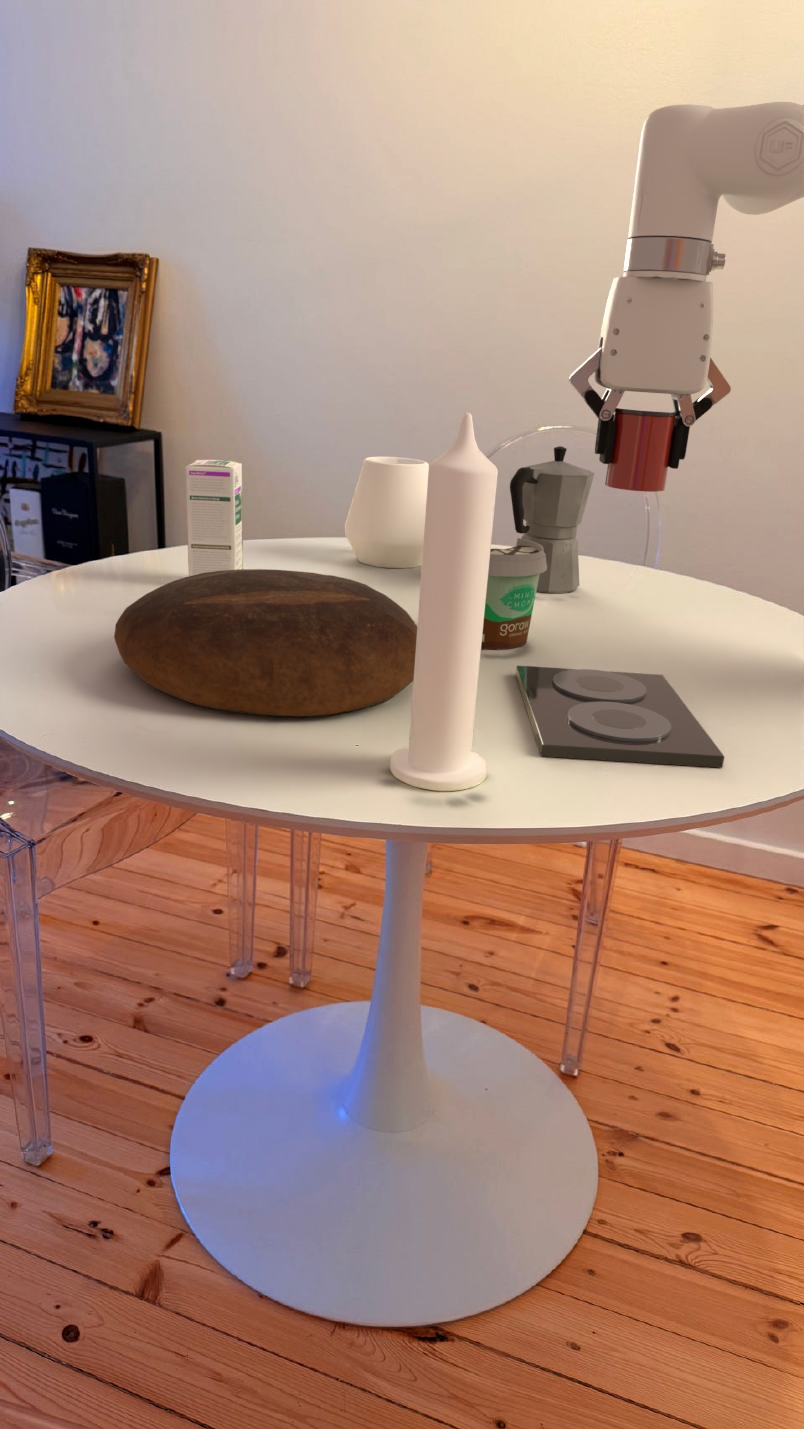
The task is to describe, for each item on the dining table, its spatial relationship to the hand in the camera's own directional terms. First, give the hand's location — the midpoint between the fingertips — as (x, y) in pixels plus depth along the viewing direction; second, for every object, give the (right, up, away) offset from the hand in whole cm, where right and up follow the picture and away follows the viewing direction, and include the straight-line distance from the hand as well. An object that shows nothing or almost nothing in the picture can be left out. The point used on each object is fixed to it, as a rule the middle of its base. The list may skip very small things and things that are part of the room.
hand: (638, 463), depth 97 cm
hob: (-5, -25, -12) cm, 28 cm away
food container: (-12, -17, +8) cm, 23 cm away
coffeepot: (-5, -8, +34) cm, 35 cm away
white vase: (-25, -3, +43) cm, 50 cm away
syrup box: (-46, -9, +24) cm, 53 cm away
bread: (-35, -21, -6) cm, 41 cm away
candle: (-21, -29, -25) cm, 44 cm away
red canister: (0, -2, +1) cm, 2 cm away
